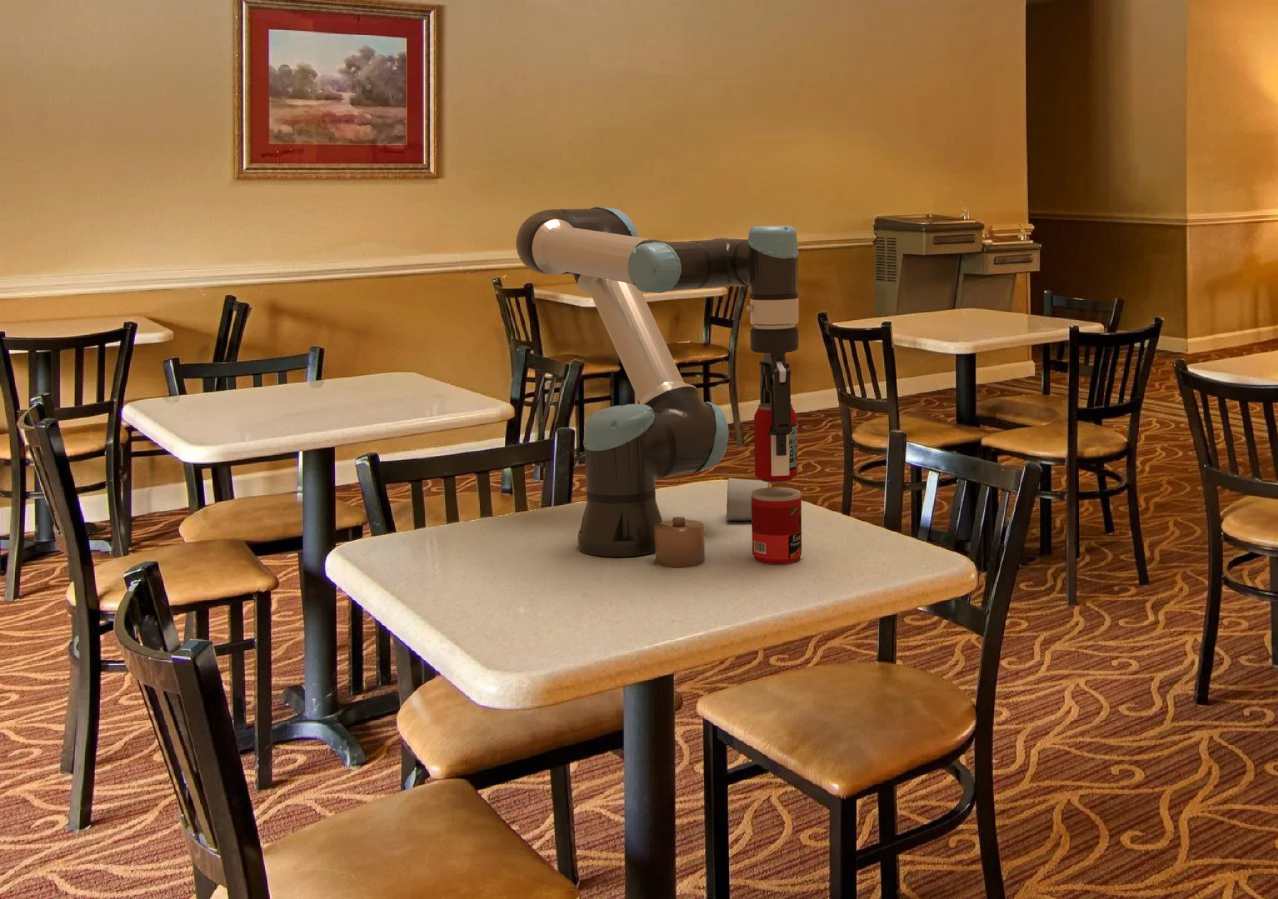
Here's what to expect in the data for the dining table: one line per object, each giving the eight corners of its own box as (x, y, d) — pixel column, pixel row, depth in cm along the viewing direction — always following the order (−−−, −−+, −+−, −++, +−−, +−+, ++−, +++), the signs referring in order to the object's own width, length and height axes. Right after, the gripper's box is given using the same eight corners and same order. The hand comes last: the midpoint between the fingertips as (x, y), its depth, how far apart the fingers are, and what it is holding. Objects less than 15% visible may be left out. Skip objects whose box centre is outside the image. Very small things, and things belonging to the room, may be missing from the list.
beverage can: (786, 485, 205) (785, 409, 203) (747, 481, 208) (746, 407, 206) (804, 477, 211) (803, 403, 208) (766, 474, 214) (765, 401, 212)
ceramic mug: (772, 524, 234) (772, 482, 233) (726, 524, 235) (725, 482, 234) (771, 511, 245) (770, 471, 244) (727, 512, 245) (726, 471, 244)
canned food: (799, 565, 207) (799, 497, 205) (749, 564, 209) (748, 496, 207) (803, 553, 215) (803, 487, 213) (754, 552, 216) (753, 486, 214)
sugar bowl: (645, 563, 212) (643, 520, 210) (676, 552, 218) (675, 510, 216) (684, 571, 207) (682, 526, 205) (714, 559, 213) (713, 516, 211)
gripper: (740, 321, 214) (742, 460, 219) (761, 332, 195) (763, 484, 199) (786, 319, 215) (787, 458, 219) (811, 330, 196) (812, 482, 200)
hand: (775, 470), depth 209 cm, fingers closed on beverage can, 7 cm apart
